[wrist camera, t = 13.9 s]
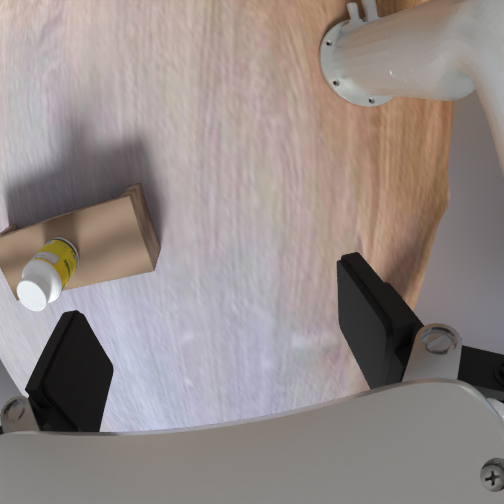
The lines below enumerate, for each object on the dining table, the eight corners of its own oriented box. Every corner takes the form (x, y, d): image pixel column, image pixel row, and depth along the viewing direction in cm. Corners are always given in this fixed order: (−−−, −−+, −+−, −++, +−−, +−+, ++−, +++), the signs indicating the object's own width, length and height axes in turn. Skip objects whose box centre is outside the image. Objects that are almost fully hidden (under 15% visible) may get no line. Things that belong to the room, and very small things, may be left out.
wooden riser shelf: (8, 226, 39) (-11, 242, 34) (140, 183, 40) (129, 196, 35) (32, 280, 44) (17, 300, 39) (160, 249, 44) (154, 270, 39)
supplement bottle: (76, 278, 38) (49, 323, 30) (43, 264, 37) (10, 305, 28) (83, 244, 36) (53, 285, 28) (48, 230, 35) (11, 267, 26)
